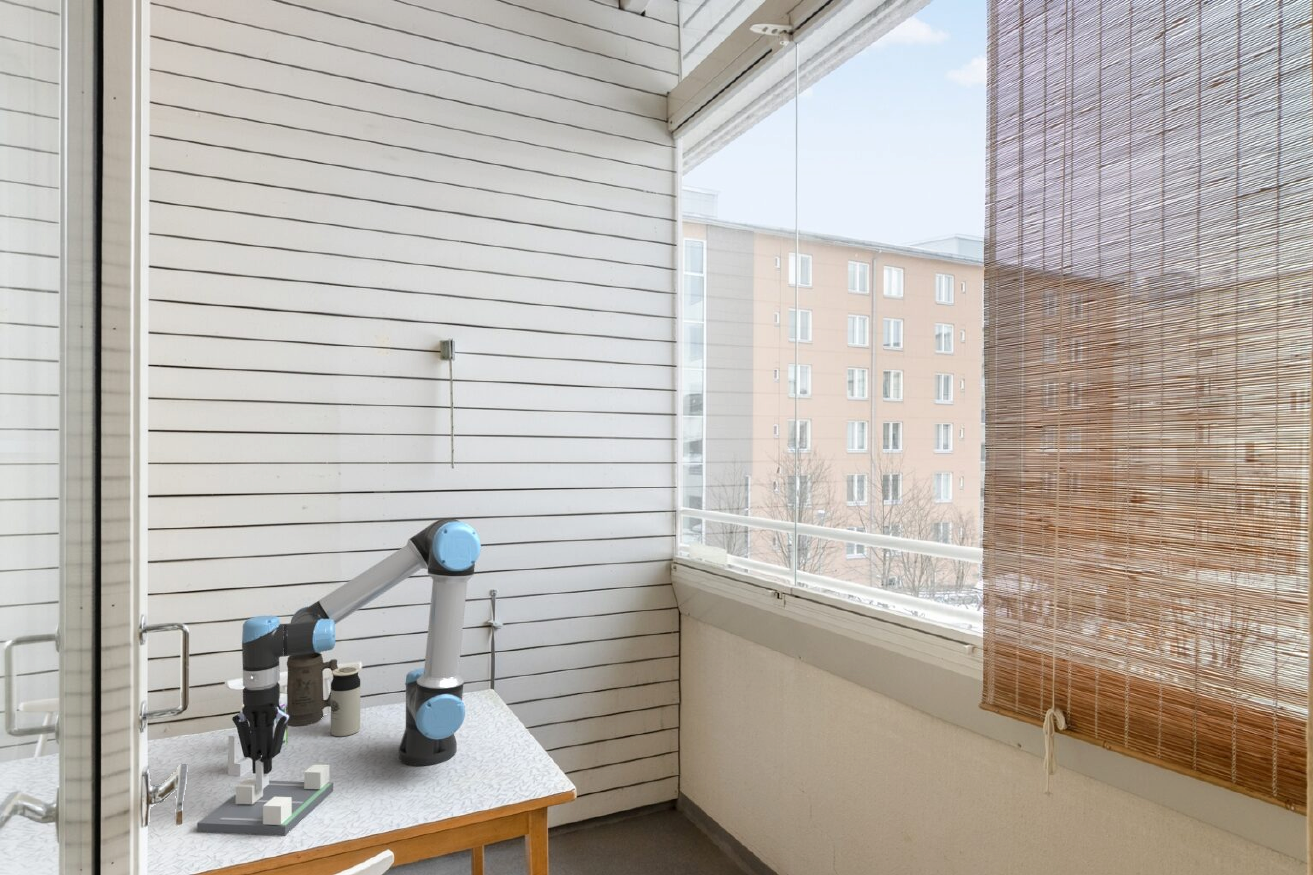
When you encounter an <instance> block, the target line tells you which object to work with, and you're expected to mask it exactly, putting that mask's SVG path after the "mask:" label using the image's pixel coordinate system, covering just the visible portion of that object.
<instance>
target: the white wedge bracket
mask: <svg viewBox="0 0 1313 875" xmlns="http://www.w3.org/2000/svg"><path fill="white" fill-rule="evenodd" d="M227 738H228V739H227V745H228V746H227V749H228V753H227V755H228V756H227V761H228V762H227V775H228V776H235V777H242V776H243V775H245V774H247V773H249V772H250V771H252V770H251V769H252V759H251V758H249V757H247V758H245V757H244V755H243V751H242V747H241V743H240V739H239V736H236V735H235V736H234V735H228V736H227ZM248 771H249V772H248ZM246 772H247V773H246ZM244 773H245V774H244Z"/></svg>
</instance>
